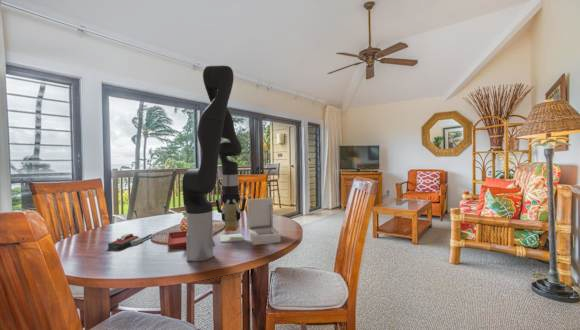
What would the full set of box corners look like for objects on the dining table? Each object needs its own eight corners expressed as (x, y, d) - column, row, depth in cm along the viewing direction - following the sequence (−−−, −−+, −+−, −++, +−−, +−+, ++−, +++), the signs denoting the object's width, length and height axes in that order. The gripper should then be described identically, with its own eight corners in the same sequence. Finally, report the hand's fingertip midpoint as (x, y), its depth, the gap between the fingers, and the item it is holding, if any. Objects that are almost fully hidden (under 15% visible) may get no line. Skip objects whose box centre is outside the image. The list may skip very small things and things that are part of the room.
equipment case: (253, 245, 116) (252, 203, 116) (248, 235, 130) (247, 199, 130) (280, 242, 119) (279, 202, 119) (272, 233, 133) (272, 197, 133)
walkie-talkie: (124, 252, 111) (154, 237, 131) (123, 241, 111) (153, 228, 131) (104, 251, 112) (137, 237, 132) (103, 240, 112) (136, 228, 132)
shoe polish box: (237, 228, 129) (237, 202, 128) (236, 230, 124) (235, 204, 123) (227, 228, 129) (226, 202, 128) (225, 231, 124) (224, 204, 123)
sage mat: (220, 242, 120) (220, 241, 120) (219, 236, 130) (219, 235, 130) (243, 240, 123) (243, 239, 123) (240, 234, 132) (240, 233, 132)
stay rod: (270, 227, 130) (270, 204, 130) (269, 226, 132) (269, 204, 132) (272, 227, 131) (272, 204, 131) (271, 226, 132) (271, 204, 132)
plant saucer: (213, 245, 117) (213, 238, 117) (167, 252, 110) (166, 243, 110) (208, 235, 134) (208, 228, 134) (168, 239, 127) (168, 232, 127)
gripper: (214, 185, 120) (215, 224, 120) (247, 184, 124) (248, 221, 124) (214, 184, 127) (215, 220, 128) (245, 183, 131) (245, 218, 132)
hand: (231, 220), depth 126 cm, fingers closed on shoe polish box, 5 cm apart
